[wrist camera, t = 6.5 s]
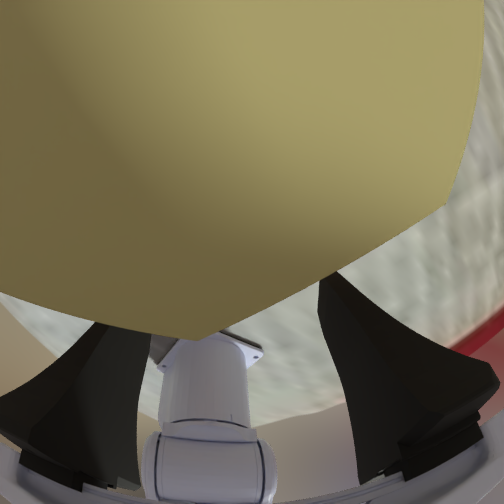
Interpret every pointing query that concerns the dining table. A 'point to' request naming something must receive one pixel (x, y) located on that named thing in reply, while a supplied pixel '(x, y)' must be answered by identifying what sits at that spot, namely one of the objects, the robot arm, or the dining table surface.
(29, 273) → the jar
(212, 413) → the robot arm
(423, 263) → the dining table surface
